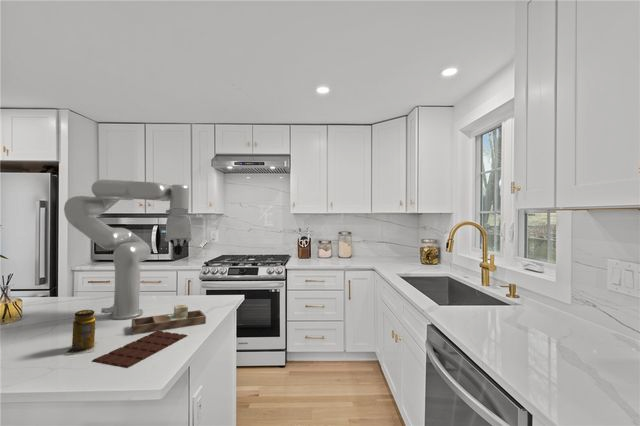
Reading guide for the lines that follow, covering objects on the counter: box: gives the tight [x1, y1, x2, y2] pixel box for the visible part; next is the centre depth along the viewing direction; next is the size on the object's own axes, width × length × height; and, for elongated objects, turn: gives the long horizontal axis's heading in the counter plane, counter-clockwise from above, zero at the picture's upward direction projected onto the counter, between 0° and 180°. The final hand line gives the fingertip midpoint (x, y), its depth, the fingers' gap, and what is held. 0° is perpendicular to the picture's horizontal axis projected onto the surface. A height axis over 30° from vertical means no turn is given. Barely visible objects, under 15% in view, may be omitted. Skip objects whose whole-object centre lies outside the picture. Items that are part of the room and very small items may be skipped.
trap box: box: [131, 309, 207, 335], centre depth 132 cm, size 26×10×3 cm, turn 123°
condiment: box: [65, 309, 98, 355], centre depth 107 cm, size 7×8×12 cm
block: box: [173, 304, 189, 319], centre depth 134 cm, size 4×4×4 cm
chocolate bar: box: [91, 330, 188, 369], centre depth 110 cm, size 27×14×1 cm, turn 165°
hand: (177, 254), depth 143 cm, fingers closed
